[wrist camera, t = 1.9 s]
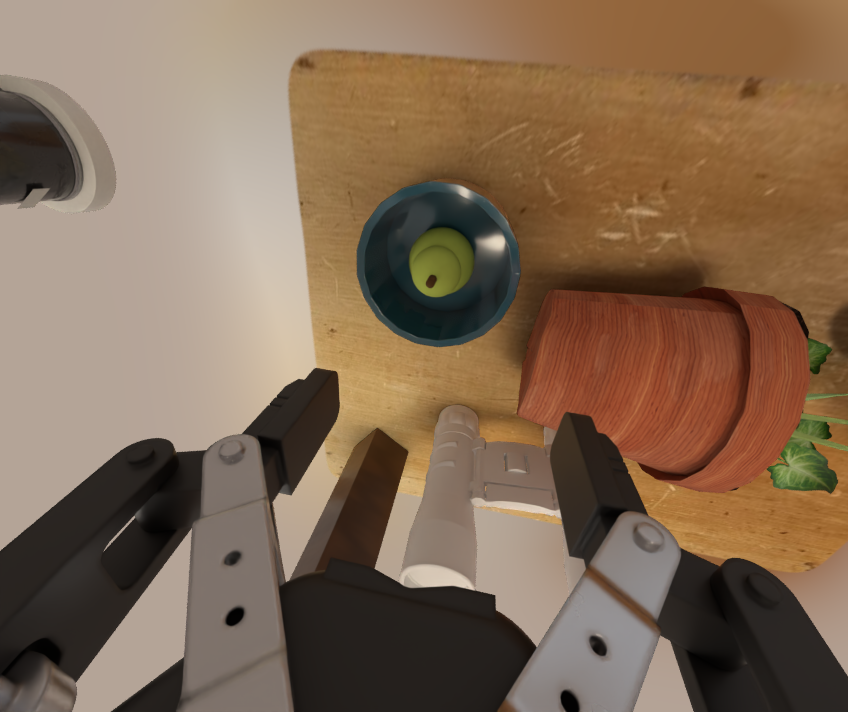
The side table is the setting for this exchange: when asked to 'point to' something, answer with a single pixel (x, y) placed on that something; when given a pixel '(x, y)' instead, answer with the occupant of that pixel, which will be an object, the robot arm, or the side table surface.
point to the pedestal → (357, 507)
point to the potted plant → (684, 384)
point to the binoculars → (475, 500)
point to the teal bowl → (390, 273)
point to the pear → (441, 261)
